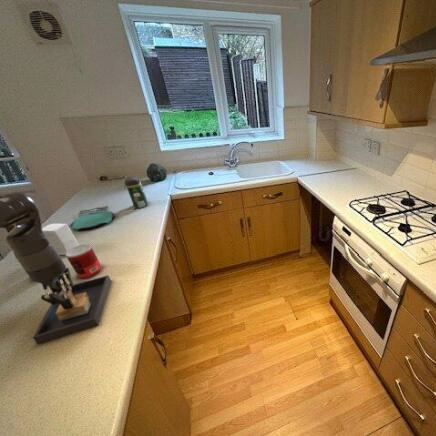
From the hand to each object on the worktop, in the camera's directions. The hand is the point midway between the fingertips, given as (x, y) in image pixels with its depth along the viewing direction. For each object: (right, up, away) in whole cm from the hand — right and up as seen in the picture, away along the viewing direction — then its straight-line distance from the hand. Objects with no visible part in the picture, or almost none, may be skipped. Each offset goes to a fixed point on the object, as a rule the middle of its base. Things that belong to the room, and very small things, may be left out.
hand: (70, 304), depth 76 cm
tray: (-1, -3, +4) cm, 5 cm away
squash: (-39, +59, +121) cm, 140 cm away
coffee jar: (-26, +35, +77) cm, 88 cm away
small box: (-33, +12, +34) cm, 49 cm away
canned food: (-11, +5, +21) cm, 24 cm away
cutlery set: (-43, +27, +62) cm, 81 cm away
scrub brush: (0, -3, +2) cm, 4 cm away
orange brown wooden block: (-1, -2, +5) cm, 6 cm away
